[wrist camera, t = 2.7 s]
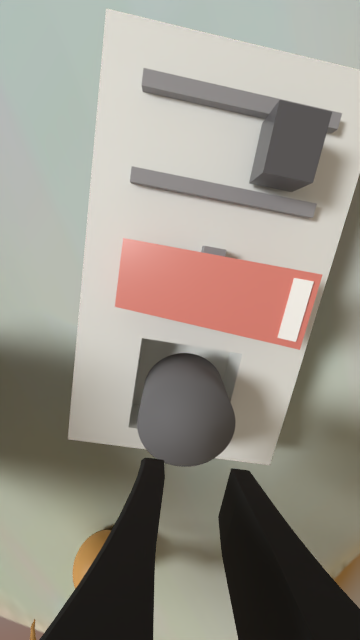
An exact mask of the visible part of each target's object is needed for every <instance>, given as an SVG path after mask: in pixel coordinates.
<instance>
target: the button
mask: <svg viewBox="0 0 360 640" xmlns="http://www.w3.org/2000/svg"><path fill="white" fill-rule="evenodd" d="M235 423H236V420H235V414H234V410H233V407H232V405H231V402H230V399H229V397H228V394H227V392H226V389H225V386H224V384H223V381H222V378H221V376H220V374H219V372H218V370H217V369H216V367H215V366H214V365H213V364H212V363H211V362H210V361H208V360H207V359H205V358H203V357H201V356H198V355H195V354H191V353H178V354H173V355H170V356H167V357H165V358H163V359H161V360H160V361H159V362H157V363H156V364H155V365H154V366H153V367H152V368H151V370H150V371H149V373H148V375H147V377H146V379H145V384H144V389H143V394H142V399H141V404H140V409H139V414H138V421H137V429H138V434H139V437H140V440H141V442H142V444H143V446H144V447H145V448H146V450H147V451H148V452H149V453H150V454H151V455H153V456H154V457H155V458H157V459H160V460H164V462H165V463H167V464H170V465H175V466H184V467H185V466H196V465H200V464H203V463H206V462H208V461H210V460H212V459H214V458H215V457H217V456H218V455H219V454H221V453H222V452H223V451H224V450H225V449H226V447H227V446H228V445H229V443H230V441H231V439H232V437H233V435H234V431H235Z"/></svg>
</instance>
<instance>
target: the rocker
mask: <svg viewBox="0 0 360 640" xmlns="http://www.w3.org/2000/svg"><path fill="white" fill-rule="evenodd" d="M321 278H322V274H317V273H312V272H306V271H301V270H295V269H290V268H284V267H279V266H274V265H268V264H263V263H257V262H252V261H246V260H241V259H236V258H230V257H225V256H219V255H214V254H208V253H203V252H198V251H192V250H187V249H181V248H176V247H171V246H165V245H160V244H154V243H149V242H143V241H138V240H132V239H127V238H123V243H122V251H121V259H120V268H119V276H118V284H117V292H116V300H115V307H118V308H122V309H127V310H131V311H135V312H140V313H144V314H148V315H152V316H157V317H161V318H165V319H170V320H174V321H178V322H182V323H187V324H191V325H195V326H200V327H204V328H208V329H213V330H217V331H221V332H225V333H230V334H234V335H238V336H243V337H247V338H251V339H255V340H260V341H264V342H268V343H273V344H277V345H281V346H285V347H290V348H294V349H298V350H300V348H301V345H302V341H303V338H304V335H305V331H306V328H307V325H308V321H309V318H310V315H311V312H312V308H313V305H314V302H315V298H316V295H317V292H318V288H319V285H320V282H321Z"/></svg>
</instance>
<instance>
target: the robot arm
mask: <svg viewBox="0 0 360 640" xmlns="http://www.w3.org/2000/svg"><path fill="white" fill-rule="evenodd" d="M164 479H165V474H164V460H160V459H152V458H144V459H143V460H141V466H140V469H139V473H138V476H137V478H136V481H135V484H134V486H133V488H132V491H131V493H130V495H129V497H128V499H127V501H126V503H125V506H124V508H123V510H122V512H121V514H120V516H119V518H118V520H117V521H116V523H115V525H114V527H113V528H112V530H111V532H110V534H109V536H108V537H107V539H106V541H105V543H104V545H103V546H102V548H101V550H100V551H99V553H98V555H97V556H96V558H95V559H94V561H93V563H92V564H91V566H90V567H89V569H88V571H87V572H86V574H85V575H84V577H83V578H82V580H81V581H80V583H79V584H78V586H77V587H76V589H75V590H74V592H73V593H72V595H71V596H70V598H69V599H68V600H67V602H66V603H65V605H64V606H63V608H62V609H61V611H60V612H59V613H58V615H57V616H56V618H55V619H54V621H53V622H52V623H51V625H50V626H49V627H48V629H47V630H46V632H45V633H44V634H43V636H42V637H41V638H40V640H153V612H154V570H155V552H156V541H157V533H158V525H159V518H160V510H161V502H162V495H163V487H164ZM219 529H220V540H221V550H222V557H223V562H224V568H225V573H226V578H227V584H228V589H229V594H230V599H231V604H232V609H233V614H234V619H235V624H236V630H237V635H238V640H360V609H359V608H358V607H357V605H356V604H355V603H354V602H353V601H352V600H351V599H350V598H349V597H348V596H347V594H346V593H345V592H344V591H343V590H342V589H341V588H340V587H339V586H338V585H337V583H336V582H335V581H334V580H333V579H332V578H331V577H330V575H329V574H328V573H327V572H326V571H325V569H324V568H323V567H322V566H321V565H320V563H319V562H318V561H317V560H316V559H315V557H314V556H313V555H312V554H311V553H310V551H309V550H308V549H307V548H306V547H305V545H304V544H303V543H302V541H301V540H300V539H299V538H298V536H297V535H296V534H295V533H294V531H293V530H292V529H291V527H290V526H289V525H288V523H287V522H286V521H285V519H284V518H283V517H282V515H281V514H280V513H279V511H278V510H277V509H276V507H275V506H274V505H273V503H272V502H271V500H270V499H269V498H268V496H267V495H266V493H265V492H264V491H263V489H262V488H261V486H260V485H259V484H258V482H257V481H256V480H255V478H254V477H253V475H252V474H251V473H250V471H247V470H240V469H232V468H231V472H230V475H229V479H228V483H227V487H226V490H225V494H224V498H223V502H222V505H221V509H220V513H219Z"/></svg>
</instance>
